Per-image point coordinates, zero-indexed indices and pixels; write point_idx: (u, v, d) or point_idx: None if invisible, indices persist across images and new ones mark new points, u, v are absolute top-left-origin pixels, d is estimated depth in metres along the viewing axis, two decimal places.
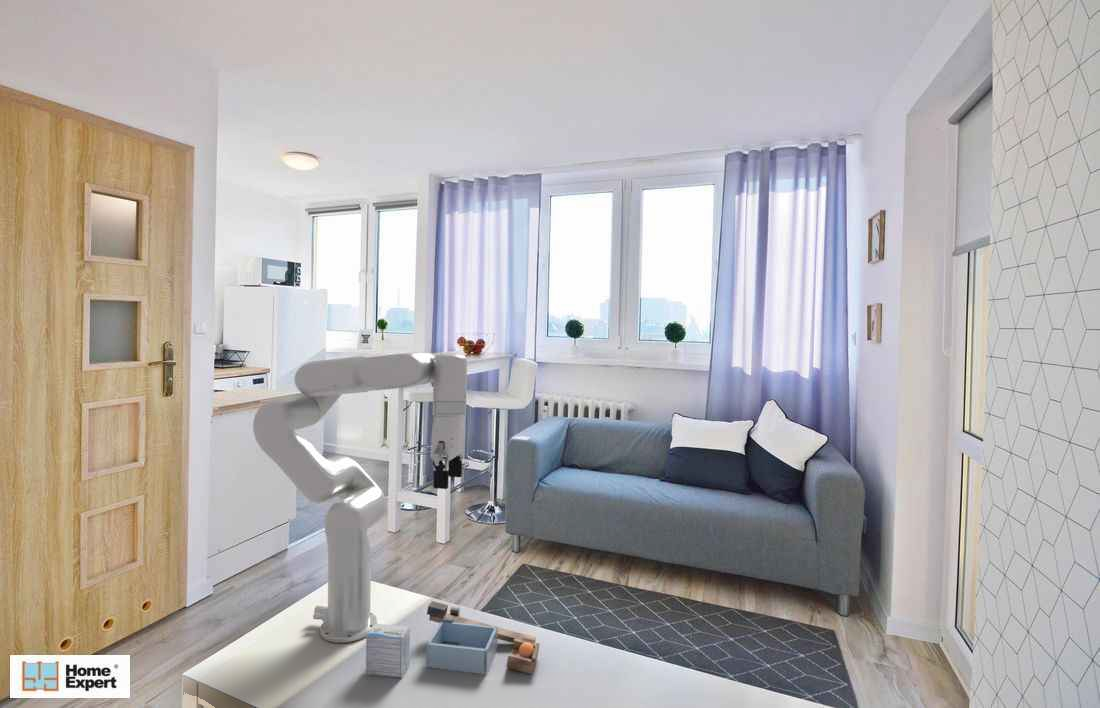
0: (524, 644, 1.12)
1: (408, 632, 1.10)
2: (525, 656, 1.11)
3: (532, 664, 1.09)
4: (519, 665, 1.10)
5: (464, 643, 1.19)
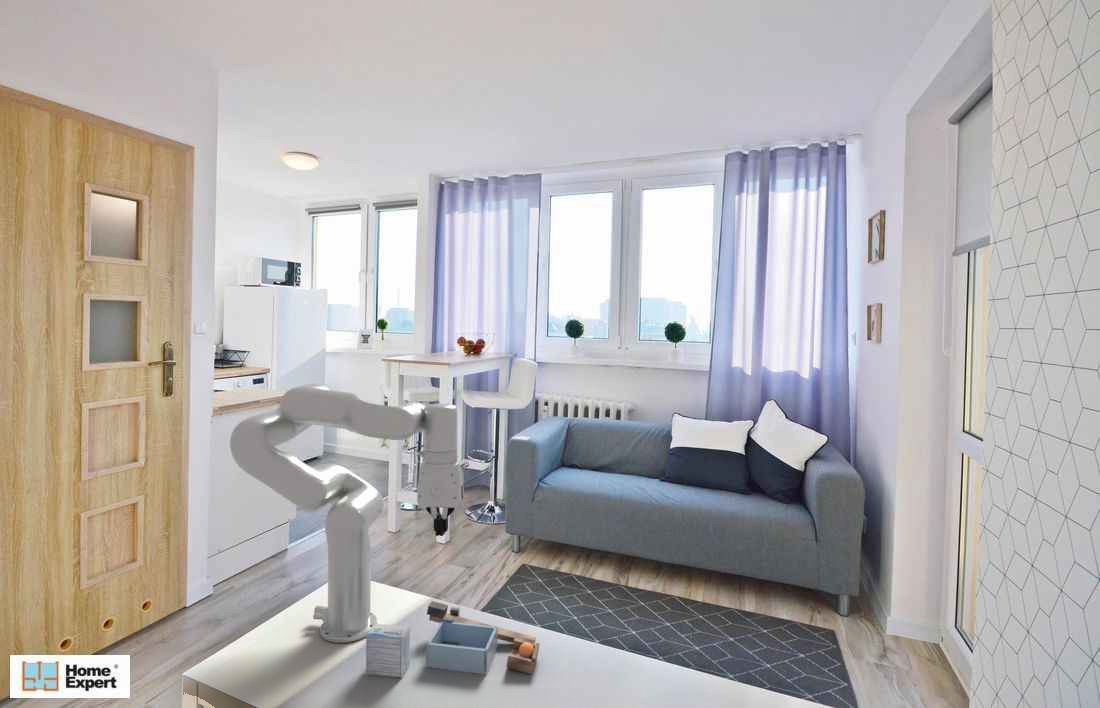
0: (524, 644, 1.12)
1: (408, 632, 1.10)
2: (525, 656, 1.11)
3: (532, 664, 1.09)
4: (519, 665, 1.10)
5: (464, 643, 1.19)
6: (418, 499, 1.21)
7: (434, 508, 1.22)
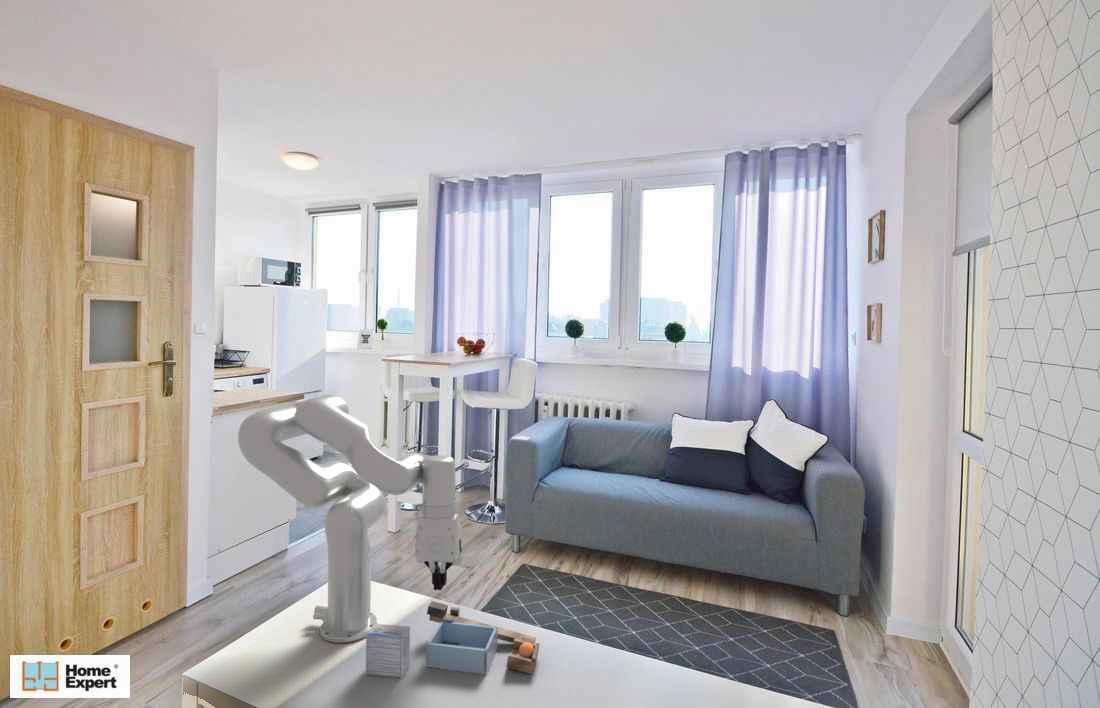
0: (524, 644, 1.12)
1: (408, 632, 1.10)
2: (525, 656, 1.11)
3: (532, 664, 1.09)
4: (519, 665, 1.10)
5: (464, 643, 1.19)
6: (416, 553, 1.20)
7: (432, 562, 1.21)
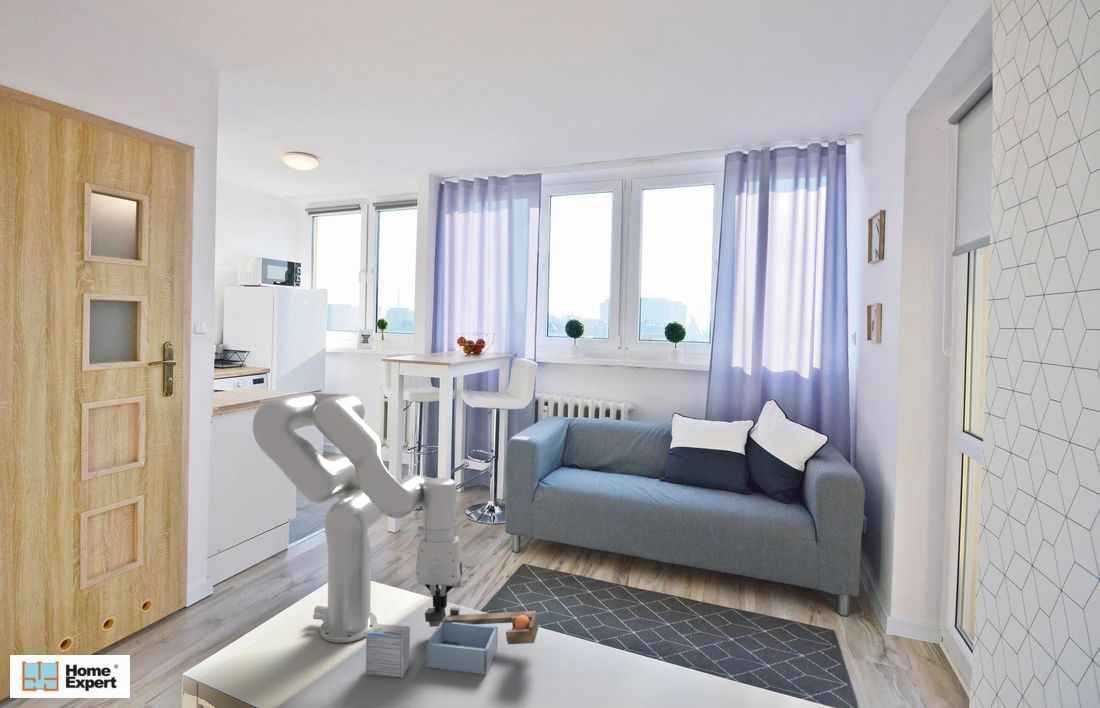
0: (517, 618, 1.12)
1: (408, 632, 1.10)
2: (522, 628, 1.11)
3: (530, 633, 1.09)
4: (519, 638, 1.09)
5: (464, 643, 1.19)
6: (417, 576, 1.20)
7: (433, 585, 1.21)
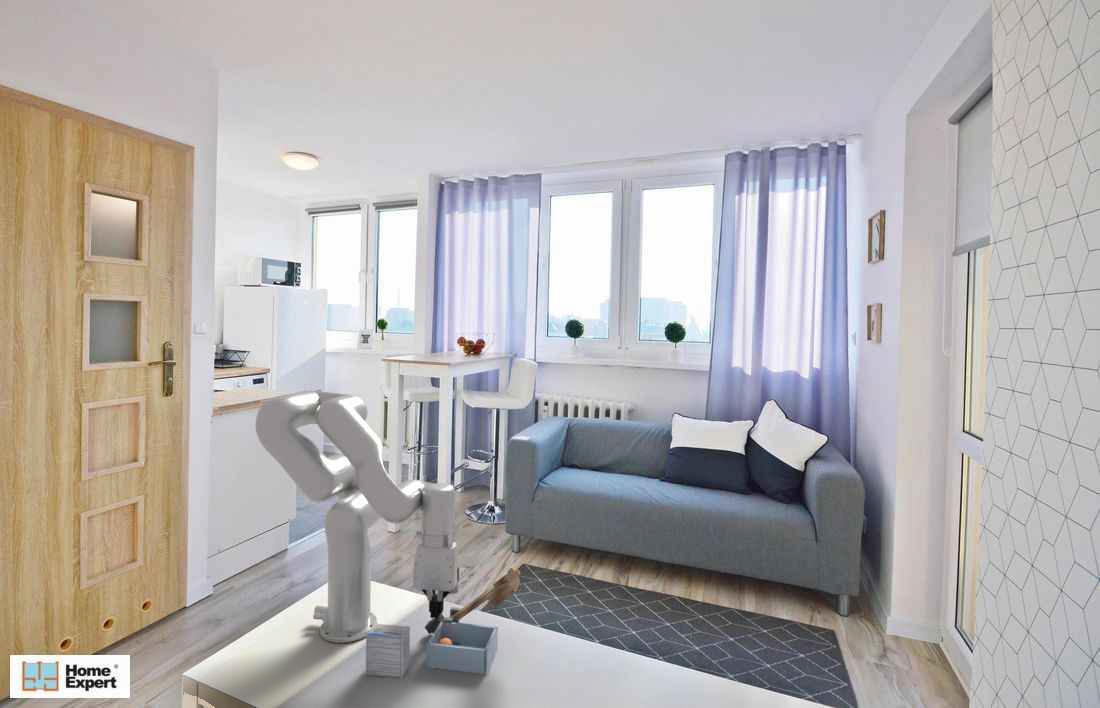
0: None
1: (408, 632, 1.10)
2: None
3: (507, 585, 1.09)
4: (500, 595, 1.10)
5: (464, 643, 1.19)
6: (414, 581, 1.20)
7: (430, 590, 1.21)
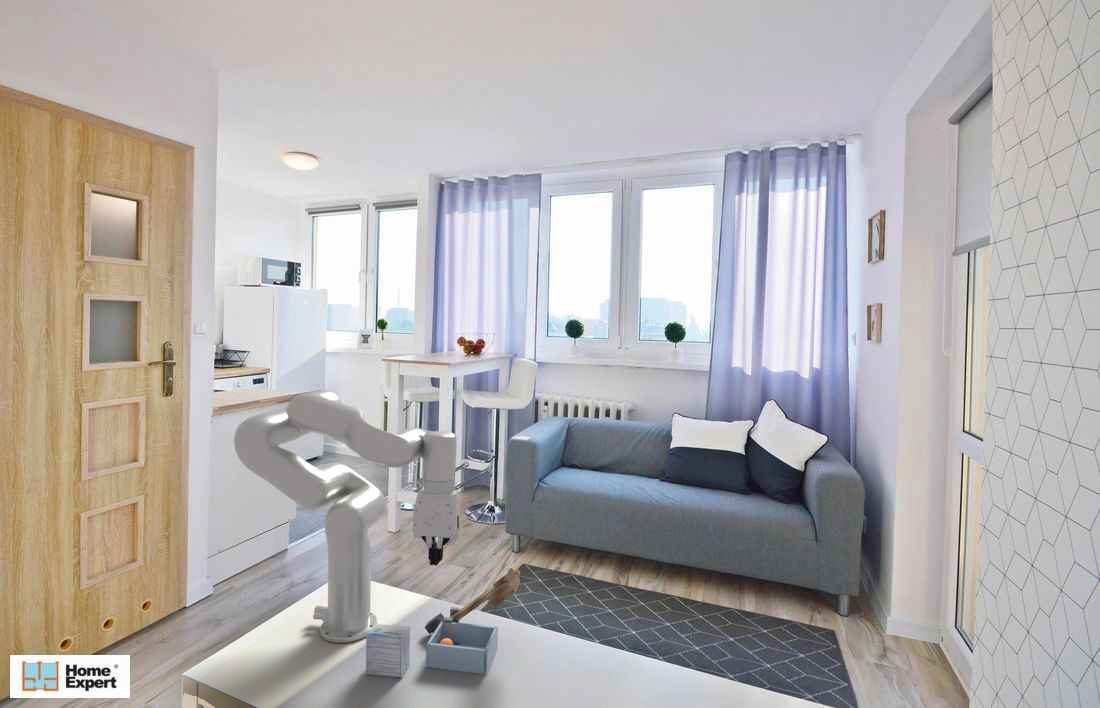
0: None
1: (408, 632, 1.10)
2: None
3: (507, 585, 1.09)
4: (500, 595, 1.10)
5: (464, 643, 1.19)
6: (413, 527, 1.20)
7: (429, 537, 1.21)
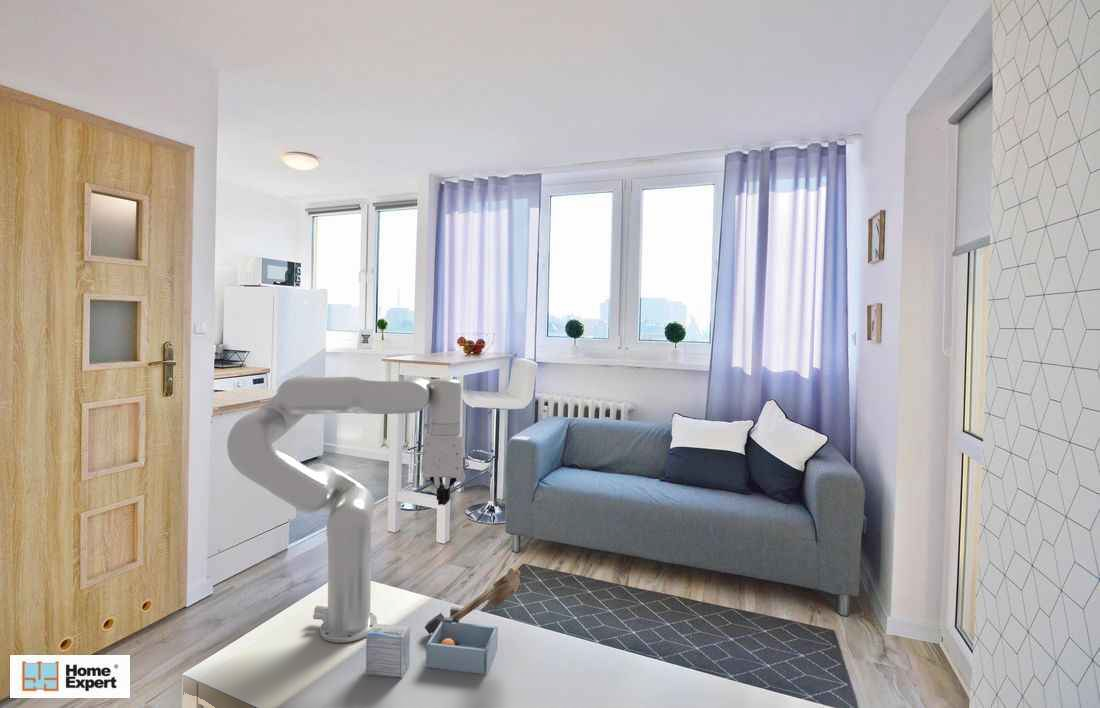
0: None
1: (408, 632, 1.10)
2: None
3: (507, 585, 1.09)
4: (500, 595, 1.10)
5: (464, 643, 1.19)
6: (422, 469, 1.27)
7: (437, 478, 1.28)
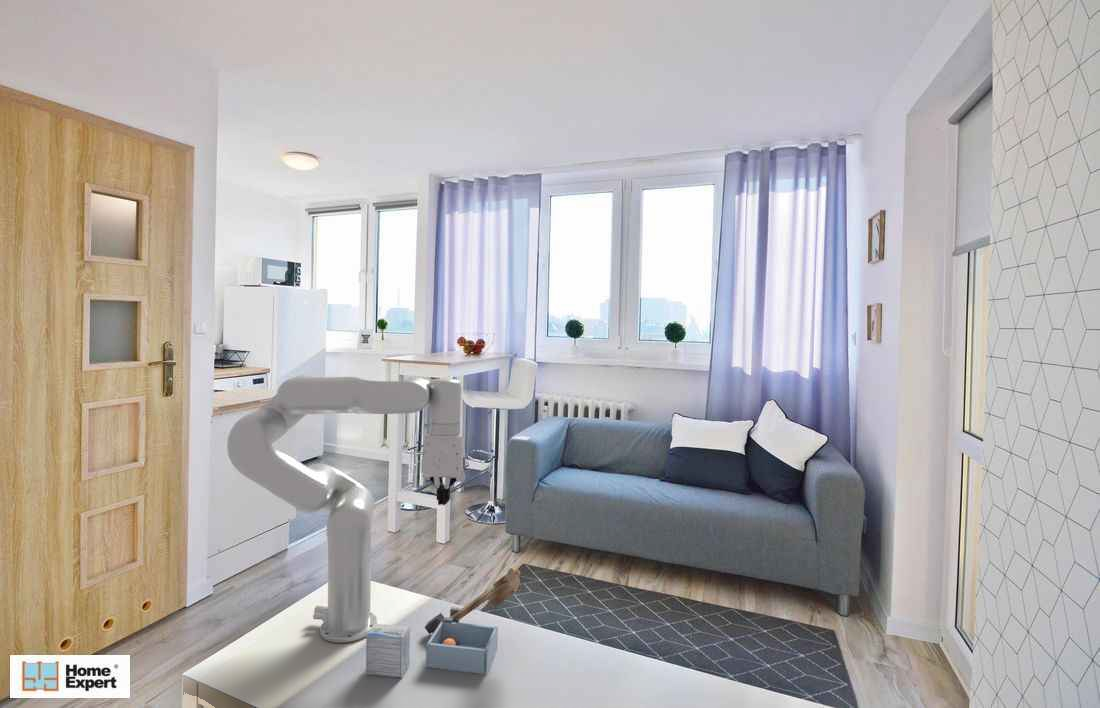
0: None
1: (408, 632, 1.10)
2: None
3: (507, 585, 1.09)
4: (500, 595, 1.10)
5: (464, 643, 1.19)
6: (422, 469, 1.27)
7: (437, 478, 1.28)
